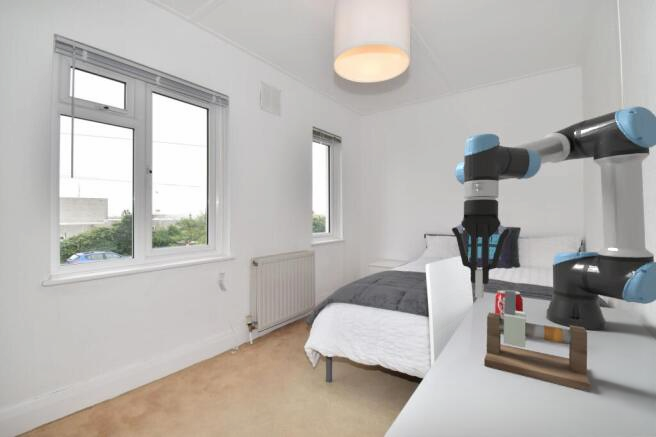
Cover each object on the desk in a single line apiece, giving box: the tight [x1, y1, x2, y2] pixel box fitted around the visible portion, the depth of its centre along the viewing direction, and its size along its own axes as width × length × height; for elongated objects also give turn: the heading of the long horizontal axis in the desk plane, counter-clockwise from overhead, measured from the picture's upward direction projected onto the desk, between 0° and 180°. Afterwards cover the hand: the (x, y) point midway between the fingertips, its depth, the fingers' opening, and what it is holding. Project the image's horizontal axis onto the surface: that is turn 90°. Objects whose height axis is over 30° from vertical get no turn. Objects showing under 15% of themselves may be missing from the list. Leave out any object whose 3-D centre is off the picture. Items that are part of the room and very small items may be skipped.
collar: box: [503, 289, 527, 349], centre depth 71 cm, size 6×4×11 cm, turn 146°
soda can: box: [494, 289, 524, 335], centre depth 90 cm, size 7×7×12 cm
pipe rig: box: [483, 312, 591, 393], centre depth 69 cm, size 12×18×10 cm, turn 56°
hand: (479, 296), depth 75 cm, fingers closed
